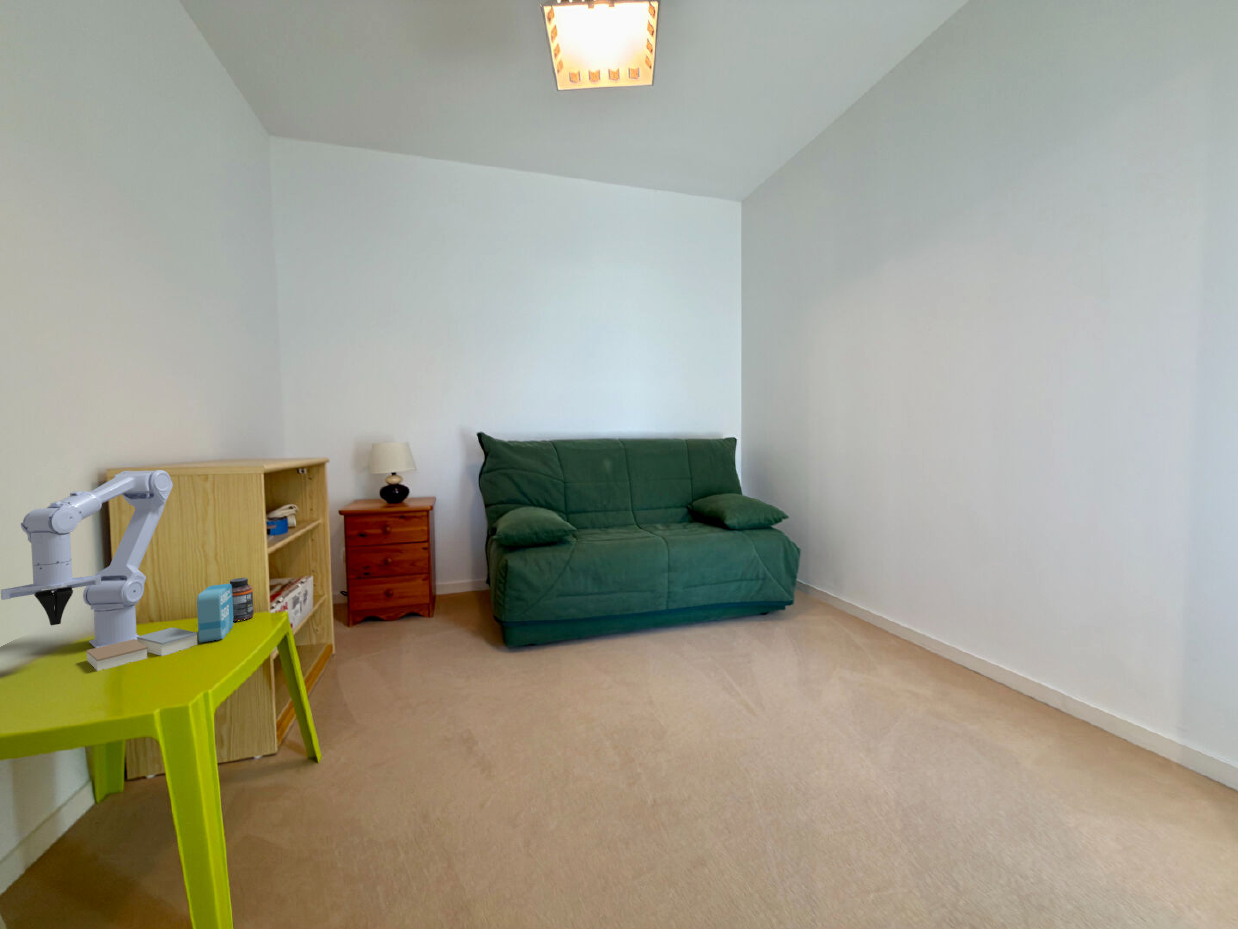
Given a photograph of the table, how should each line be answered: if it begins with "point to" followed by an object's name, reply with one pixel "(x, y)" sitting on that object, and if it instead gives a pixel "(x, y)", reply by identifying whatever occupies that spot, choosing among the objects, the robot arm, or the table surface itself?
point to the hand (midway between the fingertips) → (55, 624)
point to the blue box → (215, 612)
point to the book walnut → (116, 654)
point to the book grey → (168, 641)
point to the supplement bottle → (242, 599)
